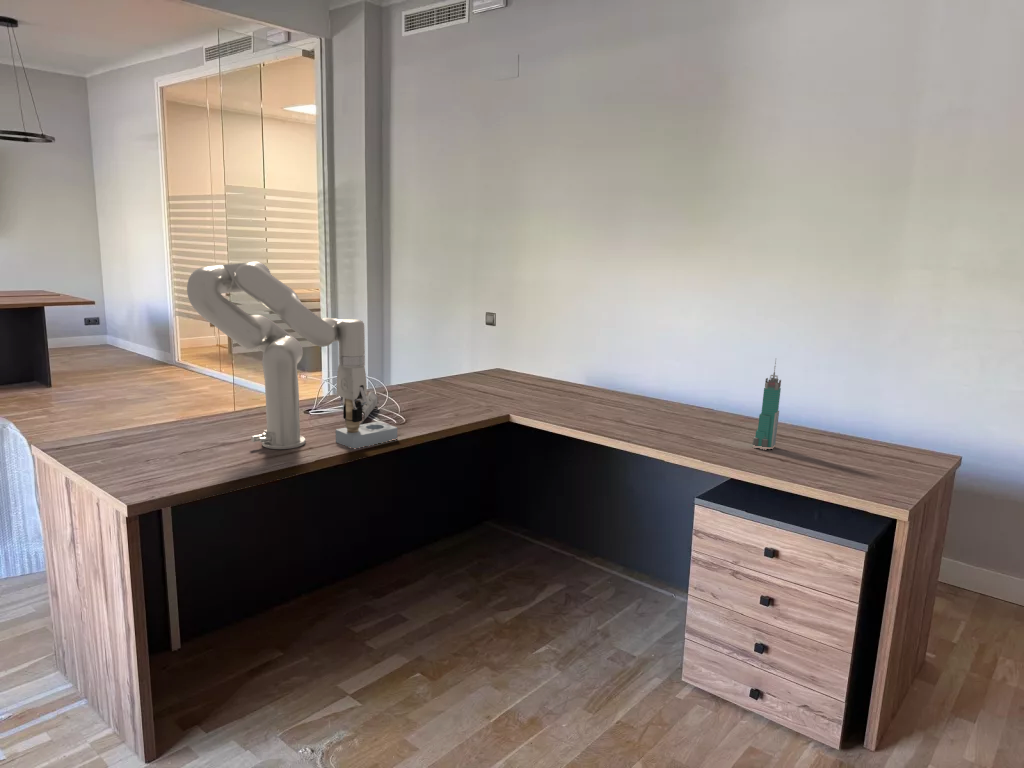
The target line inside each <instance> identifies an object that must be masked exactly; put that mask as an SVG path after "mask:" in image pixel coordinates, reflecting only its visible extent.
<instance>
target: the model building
mask: <svg viewBox="0 0 1024 768" xmlns="http://www.w3.org/2000/svg"><path fill="white" fill-rule="evenodd" d="M366 398H367V402H366V403H365V404H364V406H363V409H362V421H360V425H362V424H365V423H364V421H366V419H367V418H368V417H369V416H370V414H371V413H372V411H373V410H375V408H378V409H379V407H378V404H379V397H378V395H377V394H376V393H375V392H374V391H369V392H368V393H367V395H366ZM344 421H345V423H346V419H344Z"/></svg>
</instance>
